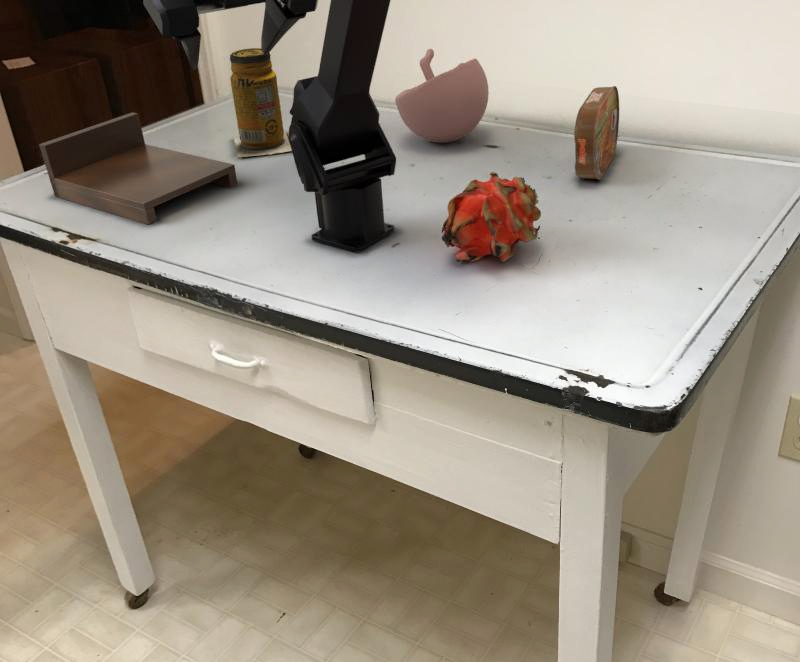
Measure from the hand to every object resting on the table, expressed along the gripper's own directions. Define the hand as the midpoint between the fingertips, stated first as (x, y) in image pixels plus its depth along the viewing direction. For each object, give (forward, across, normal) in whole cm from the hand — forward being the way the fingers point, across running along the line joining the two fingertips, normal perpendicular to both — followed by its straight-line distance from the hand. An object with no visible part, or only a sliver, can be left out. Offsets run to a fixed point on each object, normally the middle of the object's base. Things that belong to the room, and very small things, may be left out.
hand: (229, 59), depth 101 cm
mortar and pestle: (+8, -25, +14) cm, 30 cm away
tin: (-3, -33, +32) cm, 46 cm away
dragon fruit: (-8, -8, +41) cm, 43 cm away
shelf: (+13, +13, +5) cm, 19 cm away
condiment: (+15, -6, +1) cm, 16 cm away
